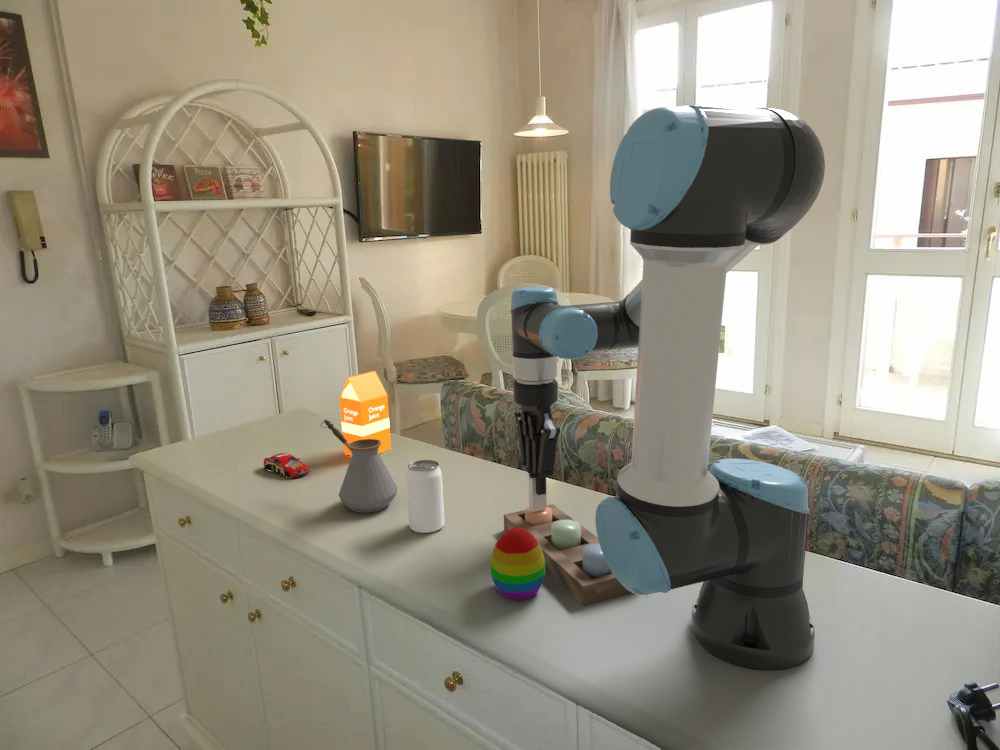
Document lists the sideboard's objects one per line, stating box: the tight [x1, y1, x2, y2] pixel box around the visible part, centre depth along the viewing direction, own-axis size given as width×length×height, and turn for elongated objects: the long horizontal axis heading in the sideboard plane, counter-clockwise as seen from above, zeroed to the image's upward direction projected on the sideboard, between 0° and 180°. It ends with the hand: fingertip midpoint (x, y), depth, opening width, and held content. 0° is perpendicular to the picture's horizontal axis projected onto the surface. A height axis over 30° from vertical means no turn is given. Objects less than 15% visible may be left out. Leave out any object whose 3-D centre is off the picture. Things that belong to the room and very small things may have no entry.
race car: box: [263, 452, 310, 479], centre depth 157 cm, size 13×5×4 cm, turn 49°
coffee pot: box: [320, 419, 398, 513], centre depth 139 cm, size 21×12×15 cm, turn 43°
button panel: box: [503, 503, 631, 606], centre depth 112 cm, size 28×10×3 cm, turn 24°
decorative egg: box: [490, 527, 546, 600], centre depth 102 cm, size 8×8×10 cm
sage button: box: [551, 519, 582, 551], centre depth 112 cm, size 5×5×4 cm
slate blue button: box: [582, 544, 613, 579], centre depth 103 cm, size 5×5×4 cm
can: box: [405, 459, 445, 534], centre depth 125 cm, size 6×6×12 cm
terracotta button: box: [524, 506, 552, 527], centre depth 121 cm, size 5×5×4 cm
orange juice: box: [339, 370, 392, 455], centre depth 167 cm, size 8×9×20 cm
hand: (537, 508), depth 121 cm, fingers closed
